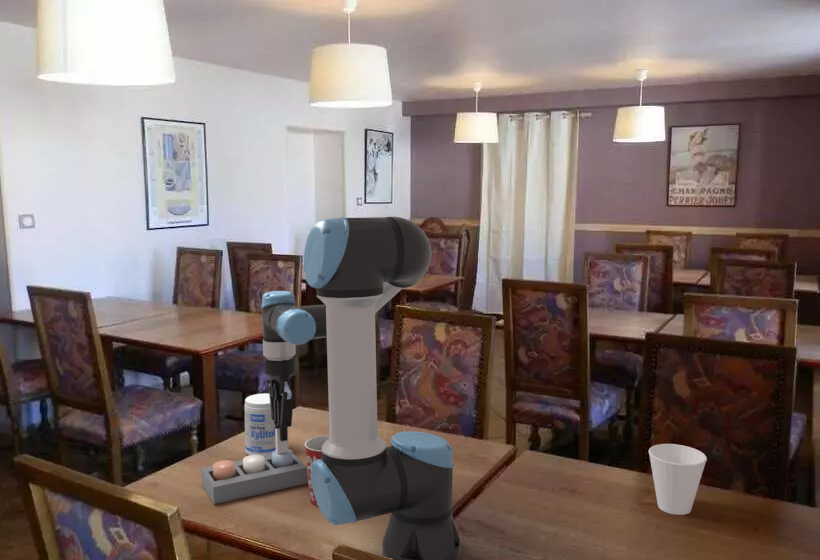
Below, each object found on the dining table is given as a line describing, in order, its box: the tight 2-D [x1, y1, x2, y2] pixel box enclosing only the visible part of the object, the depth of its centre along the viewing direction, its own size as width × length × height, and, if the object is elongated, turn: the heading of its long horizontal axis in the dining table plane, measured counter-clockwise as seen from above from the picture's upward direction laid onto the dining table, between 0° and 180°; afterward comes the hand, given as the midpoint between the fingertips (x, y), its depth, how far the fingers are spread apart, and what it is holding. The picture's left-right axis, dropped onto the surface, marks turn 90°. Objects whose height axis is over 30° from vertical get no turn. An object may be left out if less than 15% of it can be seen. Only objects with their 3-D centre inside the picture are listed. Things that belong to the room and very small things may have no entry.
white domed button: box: [242, 455, 265, 475], centre depth 162 cm, size 5×5×4 cm
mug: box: [304, 435, 330, 507], centre depth 156 cm, size 13×9×14 cm
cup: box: [648, 443, 707, 516], centre depth 150 cm, size 12×12×12 cm
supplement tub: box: [244, 393, 276, 456], centre depth 181 cm, size 10×10×15 cm
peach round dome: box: [212, 459, 236, 481], centre depth 159 cm, size 5×5×4 cm
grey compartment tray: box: [200, 453, 308, 505], centre depth 163 cm, size 12×22×4 cm, turn 119°
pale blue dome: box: [272, 449, 294, 469], centre depth 166 cm, size 5×5×4 cm
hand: (282, 451), depth 166 cm, fingers closed
